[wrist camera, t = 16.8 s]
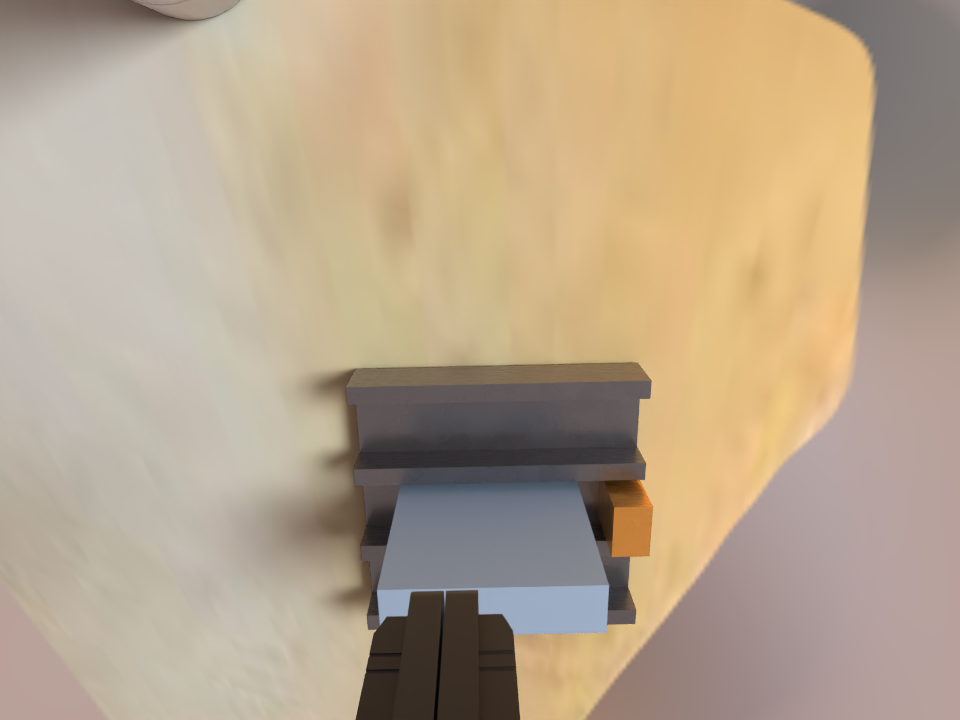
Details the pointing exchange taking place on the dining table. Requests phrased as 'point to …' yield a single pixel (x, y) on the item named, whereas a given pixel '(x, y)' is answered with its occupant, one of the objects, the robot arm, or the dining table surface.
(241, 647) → the dining table surface
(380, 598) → the panel
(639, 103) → the dining table surface
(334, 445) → the dining table surface
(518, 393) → the rack
